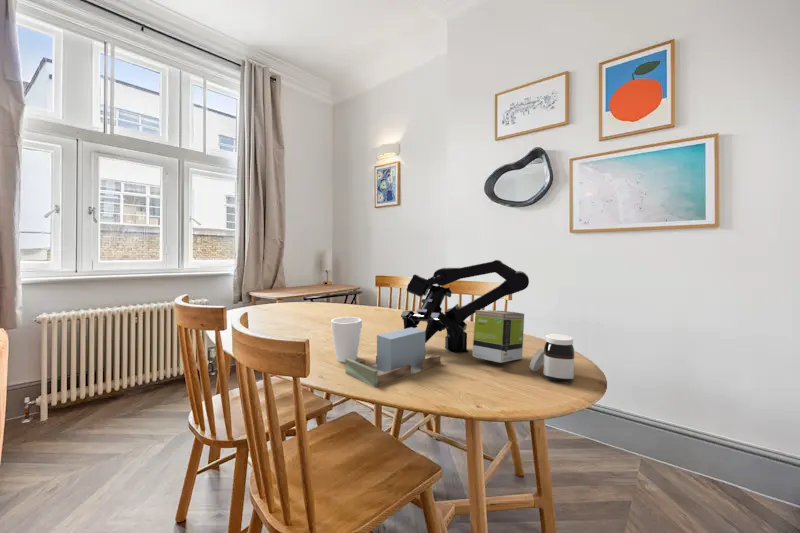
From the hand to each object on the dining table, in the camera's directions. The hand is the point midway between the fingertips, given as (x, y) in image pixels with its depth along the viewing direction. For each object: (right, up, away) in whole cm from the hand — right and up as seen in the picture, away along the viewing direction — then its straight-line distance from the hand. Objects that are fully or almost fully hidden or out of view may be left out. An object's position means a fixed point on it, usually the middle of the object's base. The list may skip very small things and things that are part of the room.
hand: (414, 340), depth 116 cm
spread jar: (+38, -7, -16) cm, 42 cm away
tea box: (+26, -5, -5) cm, 27 cm away
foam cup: (-22, -6, -4) cm, 23 cm away
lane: (-6, -6, -12) cm, 15 cm away
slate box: (-4, -5, -10) cm, 12 cm away
